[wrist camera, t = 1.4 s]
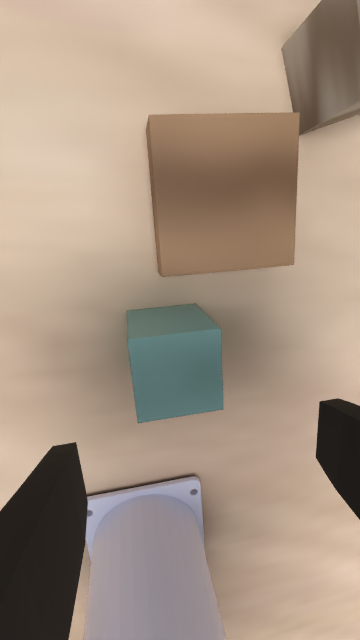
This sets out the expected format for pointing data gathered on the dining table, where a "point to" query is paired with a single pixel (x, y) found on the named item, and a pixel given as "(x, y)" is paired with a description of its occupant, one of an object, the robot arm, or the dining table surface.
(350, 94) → the grey block
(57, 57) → the dining table surface
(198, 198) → the walnut slab
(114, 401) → the dining table surface
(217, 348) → the teal block
